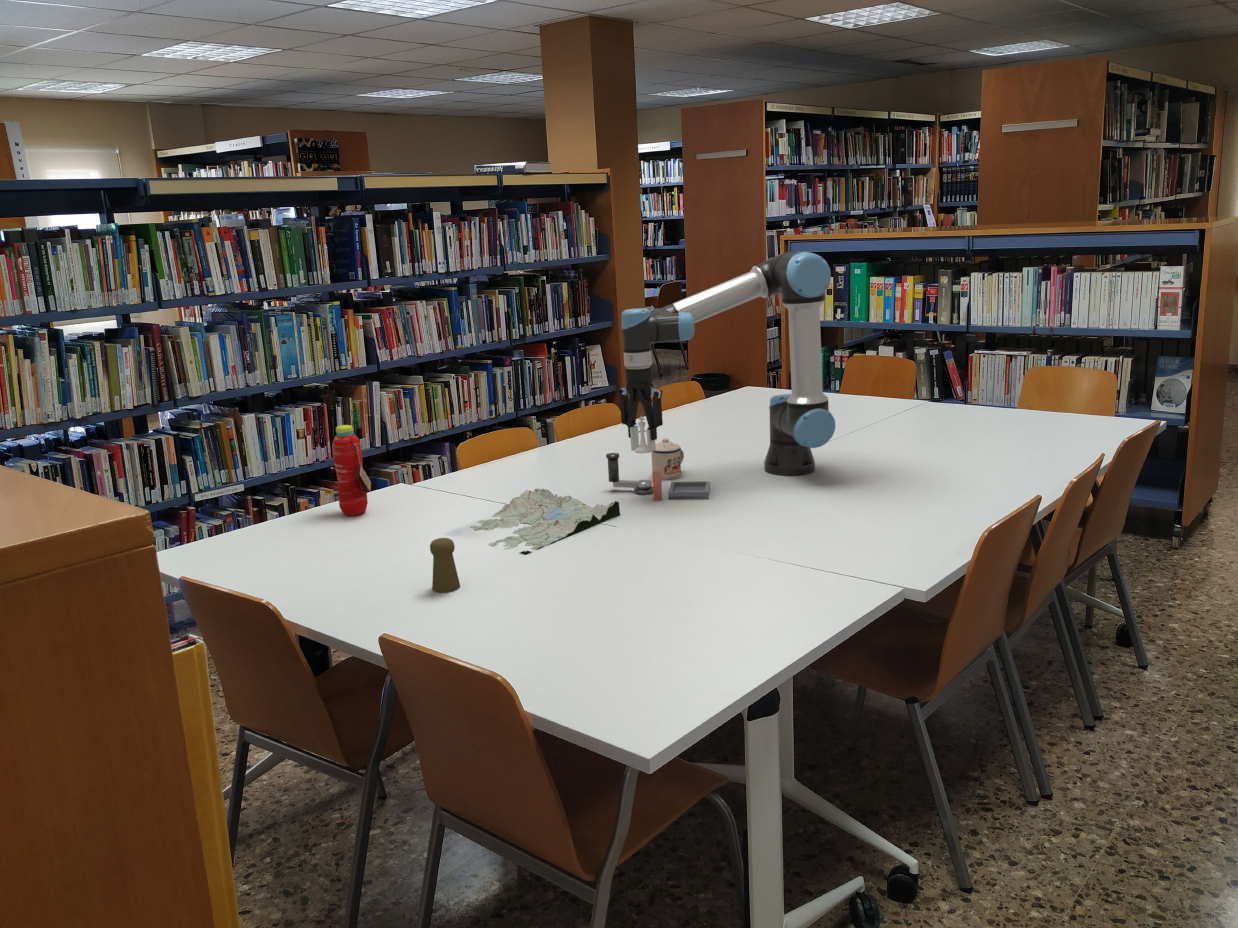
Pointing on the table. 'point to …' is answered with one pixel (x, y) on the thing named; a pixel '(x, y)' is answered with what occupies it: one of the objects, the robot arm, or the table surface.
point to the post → (657, 486)
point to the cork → (444, 566)
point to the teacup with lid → (667, 459)
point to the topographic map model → (546, 518)
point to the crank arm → (614, 475)
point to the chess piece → (642, 438)
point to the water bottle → (350, 472)
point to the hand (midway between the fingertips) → (643, 450)
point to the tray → (689, 490)
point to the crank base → (643, 491)
